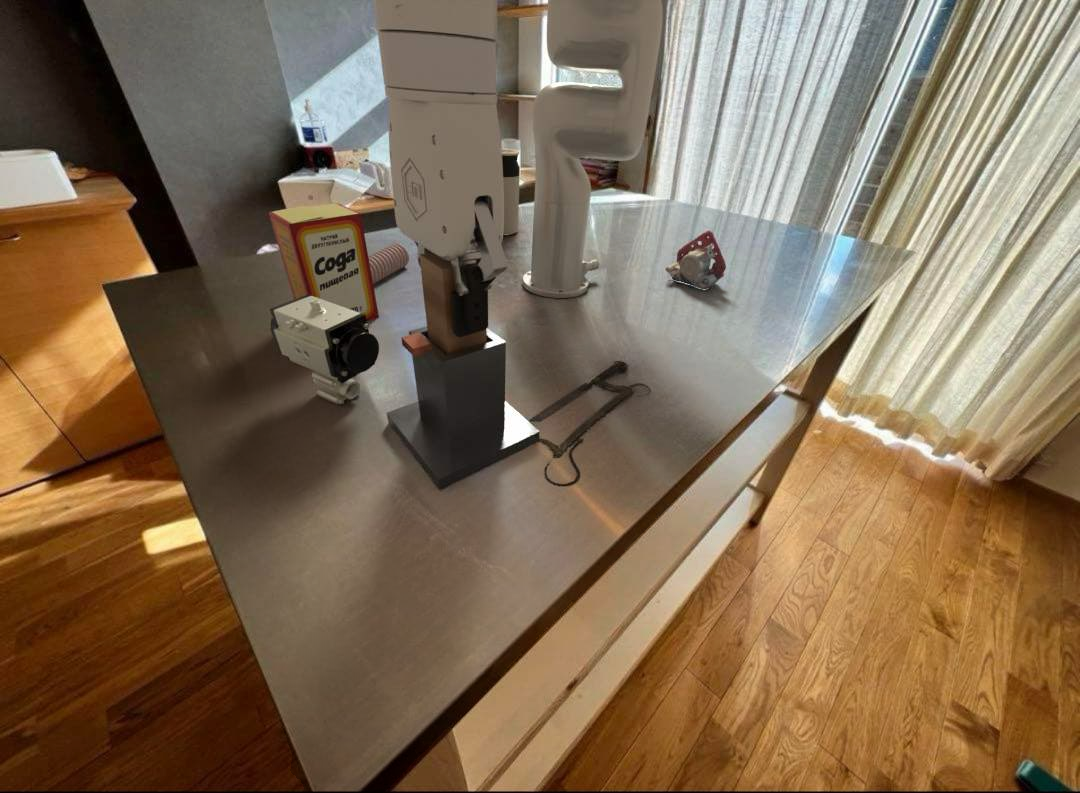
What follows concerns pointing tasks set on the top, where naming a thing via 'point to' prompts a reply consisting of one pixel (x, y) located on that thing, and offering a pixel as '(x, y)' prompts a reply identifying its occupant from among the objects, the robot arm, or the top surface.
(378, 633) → the top surface
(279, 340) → the pneumatic valve
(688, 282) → the brake caliper
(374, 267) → the coil
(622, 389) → the hacksaw
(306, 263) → the baking soda box
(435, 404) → the sleeve
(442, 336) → the column
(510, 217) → the travel mug
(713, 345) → the top surface
